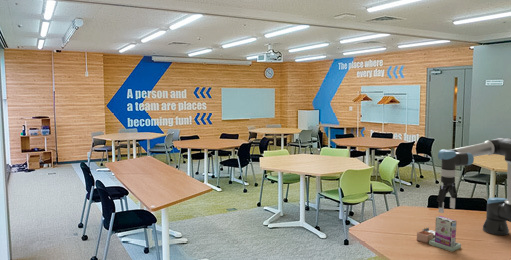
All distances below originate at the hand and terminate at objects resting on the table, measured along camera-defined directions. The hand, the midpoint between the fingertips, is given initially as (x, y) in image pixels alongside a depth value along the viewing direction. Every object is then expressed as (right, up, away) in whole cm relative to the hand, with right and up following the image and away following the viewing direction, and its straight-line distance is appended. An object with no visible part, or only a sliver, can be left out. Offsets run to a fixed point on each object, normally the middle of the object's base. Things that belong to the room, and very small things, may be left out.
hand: (446, 210), depth 238 cm
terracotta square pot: (-9, -21, +11) cm, 25 cm away
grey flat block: (+1, -19, +15) cm, 24 cm away
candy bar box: (0, -22, +2) cm, 22 cm away
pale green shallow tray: (0, -22, +2) cm, 22 cm away
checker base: (+1, -21, +15) cm, 26 cm away
